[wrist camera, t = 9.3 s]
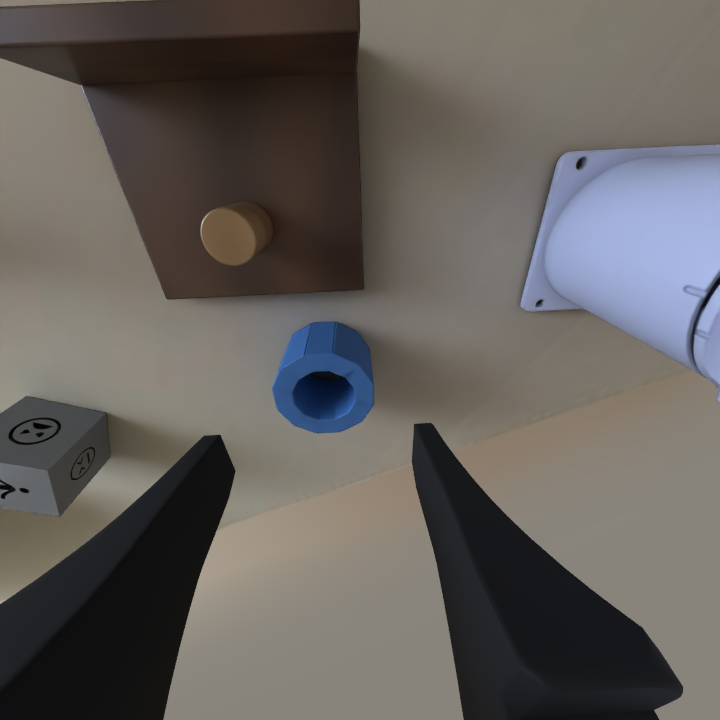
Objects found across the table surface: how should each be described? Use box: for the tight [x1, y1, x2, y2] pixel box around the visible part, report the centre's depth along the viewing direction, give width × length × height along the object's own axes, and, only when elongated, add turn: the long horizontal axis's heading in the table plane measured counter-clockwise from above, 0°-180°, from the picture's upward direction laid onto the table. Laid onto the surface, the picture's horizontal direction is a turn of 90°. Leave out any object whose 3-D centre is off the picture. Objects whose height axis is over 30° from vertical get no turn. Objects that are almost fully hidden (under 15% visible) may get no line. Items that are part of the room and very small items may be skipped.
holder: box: [0, 0, 364, 299], centre depth 13 cm, size 11×10×5 cm
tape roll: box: [272, 322, 374, 433], centre depth 18 cm, size 6×6×4 cm
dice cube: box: [0, 396, 110, 517], centre depth 20 cm, size 5×5×5 cm
